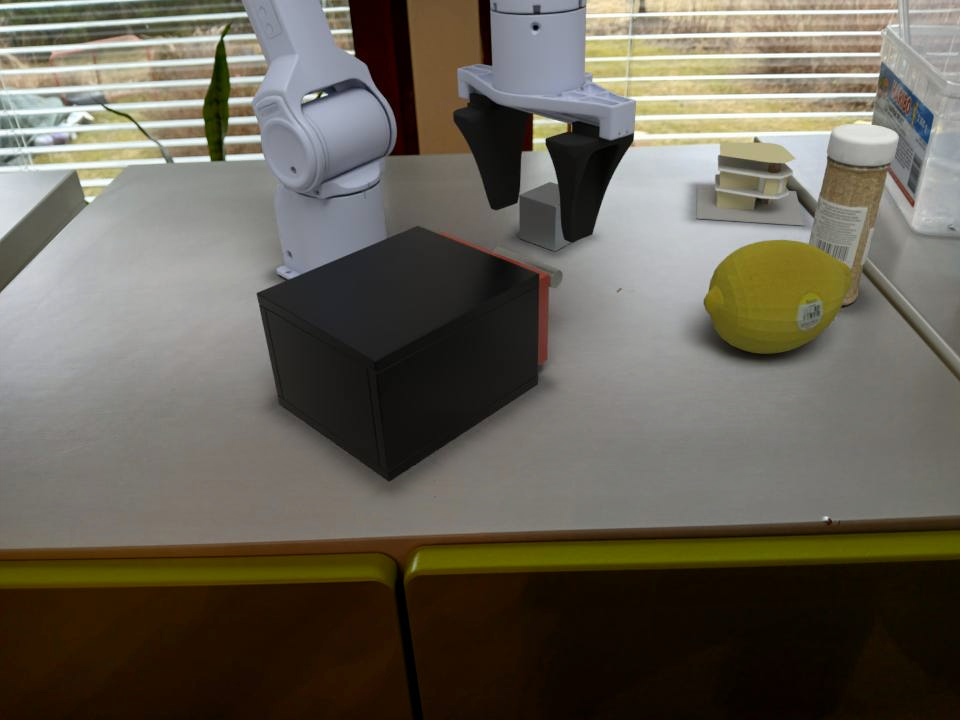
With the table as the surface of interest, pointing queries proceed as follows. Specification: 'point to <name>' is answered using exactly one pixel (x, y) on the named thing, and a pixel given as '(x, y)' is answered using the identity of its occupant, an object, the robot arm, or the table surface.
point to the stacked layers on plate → (751, 186)
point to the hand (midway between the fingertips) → (539, 220)
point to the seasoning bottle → (852, 195)
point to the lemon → (776, 295)
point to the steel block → (541, 217)
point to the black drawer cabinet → (402, 344)
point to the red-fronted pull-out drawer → (547, 279)
